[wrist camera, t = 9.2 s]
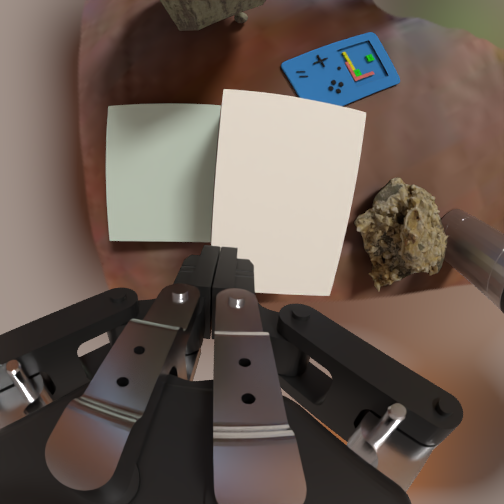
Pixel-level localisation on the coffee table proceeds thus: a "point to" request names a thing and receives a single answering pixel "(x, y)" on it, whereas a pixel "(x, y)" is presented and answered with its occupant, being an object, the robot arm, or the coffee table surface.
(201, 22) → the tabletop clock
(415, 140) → the coffee table surface
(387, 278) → the mineral specimen
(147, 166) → the door
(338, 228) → the case
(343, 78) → the handheld gaming device
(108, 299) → the robot arm
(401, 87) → the coffee table surface
